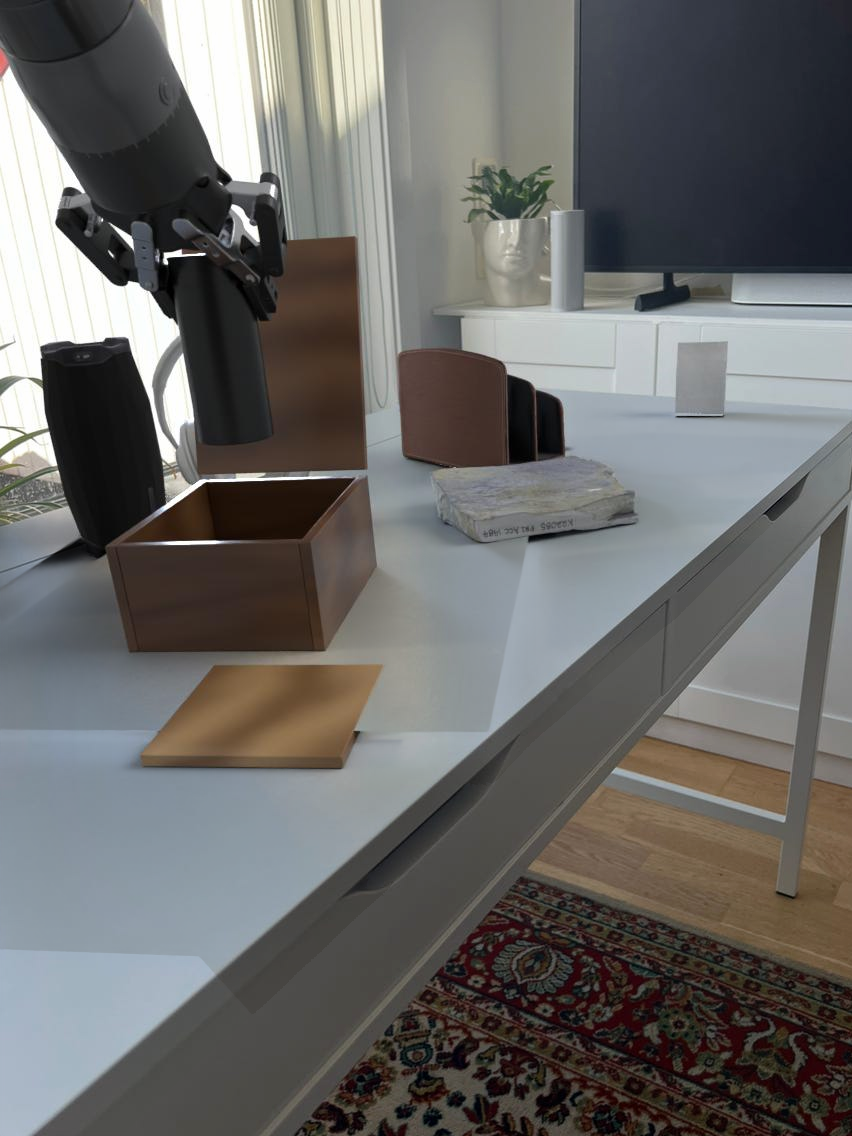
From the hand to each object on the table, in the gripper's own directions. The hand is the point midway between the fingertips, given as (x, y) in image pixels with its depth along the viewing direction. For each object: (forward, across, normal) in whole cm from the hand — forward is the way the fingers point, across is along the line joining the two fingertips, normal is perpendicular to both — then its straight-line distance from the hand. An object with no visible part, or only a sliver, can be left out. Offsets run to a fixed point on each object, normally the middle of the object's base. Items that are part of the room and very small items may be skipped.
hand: (226, 312), depth 66 cm
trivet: (+5, -5, +27) cm, 28 cm away
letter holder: (+52, -11, -20) cm, 57 cm away
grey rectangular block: (+69, -40, -36) cm, 88 cm away
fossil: (+36, -19, -3) cm, 41 cm away
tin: (+5, 0, +7) cm, 8 cm away
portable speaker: (+30, +21, +2) cm, 37 cm away
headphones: (+41, +13, -9) cm, 44 cm away
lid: (+12, +1, -5) cm, 13 cm away
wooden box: (+17, +1, +15) cm, 23 cm away
